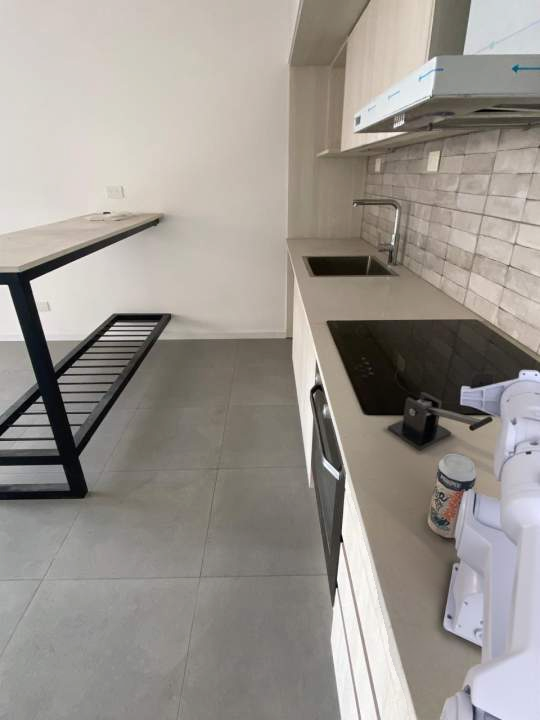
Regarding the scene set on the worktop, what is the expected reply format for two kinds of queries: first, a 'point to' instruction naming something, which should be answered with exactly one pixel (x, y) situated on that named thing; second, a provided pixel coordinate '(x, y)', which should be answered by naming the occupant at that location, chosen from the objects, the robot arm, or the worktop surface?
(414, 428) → the bracket
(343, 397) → the worktop surface
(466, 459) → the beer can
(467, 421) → the lever
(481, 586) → the robot arm
